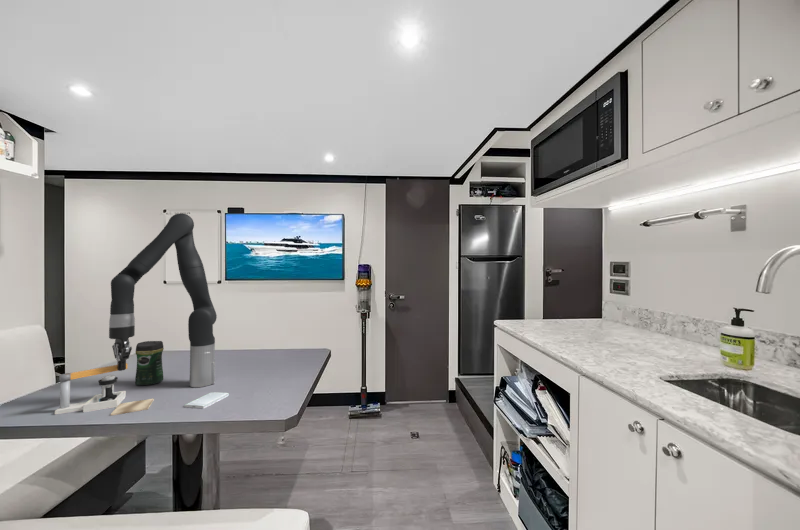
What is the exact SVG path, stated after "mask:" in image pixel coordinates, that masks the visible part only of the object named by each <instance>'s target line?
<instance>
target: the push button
mask: <svg viewBox="0 0 800 530" xmlns="http://www.w3.org/2000/svg"><path fill="white" fill-rule="evenodd" d="M117 382H118V377H117V376H116V375H114V374H109V375H104V376H102V377H101V379H99V380H98V385H99V386H101V394H102V396H101V397H102V398H100V399H99V402H102V401H109V400H114V399H115V398H116V397H117V395H115V394H114V392H115V384H116V383H117Z"/></svg>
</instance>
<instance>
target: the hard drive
mask: <svg viewBox="0 0 800 530" xmlns="http://www.w3.org/2000/svg"><path fill="white" fill-rule="evenodd" d="M229 396H230V394H229V393H228V392H215V391H211V392H209V393H207V394H204V395H203V396H200V397H198V398H197V399H194V400H192V401H190V402H188V403H186V404H184V406H183V407H184V408H190V409H191V408H192V409H201V410H202V409H206V408H208V407H210V406H212V405H213V404H216V403H217V402H219V401H222V400H224V399H225V398H227V397H229Z"/></svg>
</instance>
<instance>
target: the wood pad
mask: <svg viewBox="0 0 800 530" xmlns="http://www.w3.org/2000/svg"><path fill="white" fill-rule="evenodd" d="M154 401H155V399H154V398H148V399H142V400H134V401H129V402H128V401H127V402H121V403H120V404H119V405H118V406H117V407H115V409H114V410H112V412H111V413H110V416H116V415H117V416H118V415H122V414H128V413H129V414H130V413H134V412H140V411H147V410H149V409H150V406H151V405H152V404H153V402H154Z"/></svg>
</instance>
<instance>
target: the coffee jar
mask: <svg viewBox="0 0 800 530" xmlns="http://www.w3.org/2000/svg"><path fill="white" fill-rule="evenodd" d="M164 350H165V349H164V342H163V341H162V340H148V341H142V342H138V343H137V344H136V347H135V355H136V370H135V379H134V383H135V386H149V385H154V384H155V385H156V384H160V383H161V382H163V380H164V369H163V358H162V357H163V352H164Z"/></svg>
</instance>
